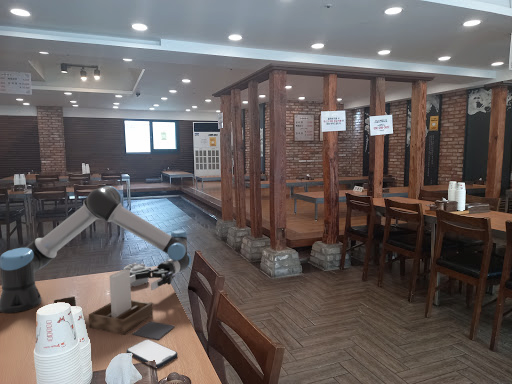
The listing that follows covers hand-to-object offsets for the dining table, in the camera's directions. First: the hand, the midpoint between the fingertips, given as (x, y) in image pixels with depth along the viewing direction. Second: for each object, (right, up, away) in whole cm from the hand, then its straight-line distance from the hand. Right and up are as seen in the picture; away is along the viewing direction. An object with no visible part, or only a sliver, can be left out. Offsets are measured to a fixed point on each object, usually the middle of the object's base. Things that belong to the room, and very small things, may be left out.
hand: (137, 284), depth 143 cm
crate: (-3, -12, -8) cm, 15 cm away
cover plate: (-3, -11, -8) cm, 14 cm away
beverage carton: (-25, -12, -8) cm, 29 cm away
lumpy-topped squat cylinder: (-13, -8, +35) cm, 38 cm away
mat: (+11, -13, -15) cm, 23 cm away
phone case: (+15, -15, -30) cm, 37 cm away
